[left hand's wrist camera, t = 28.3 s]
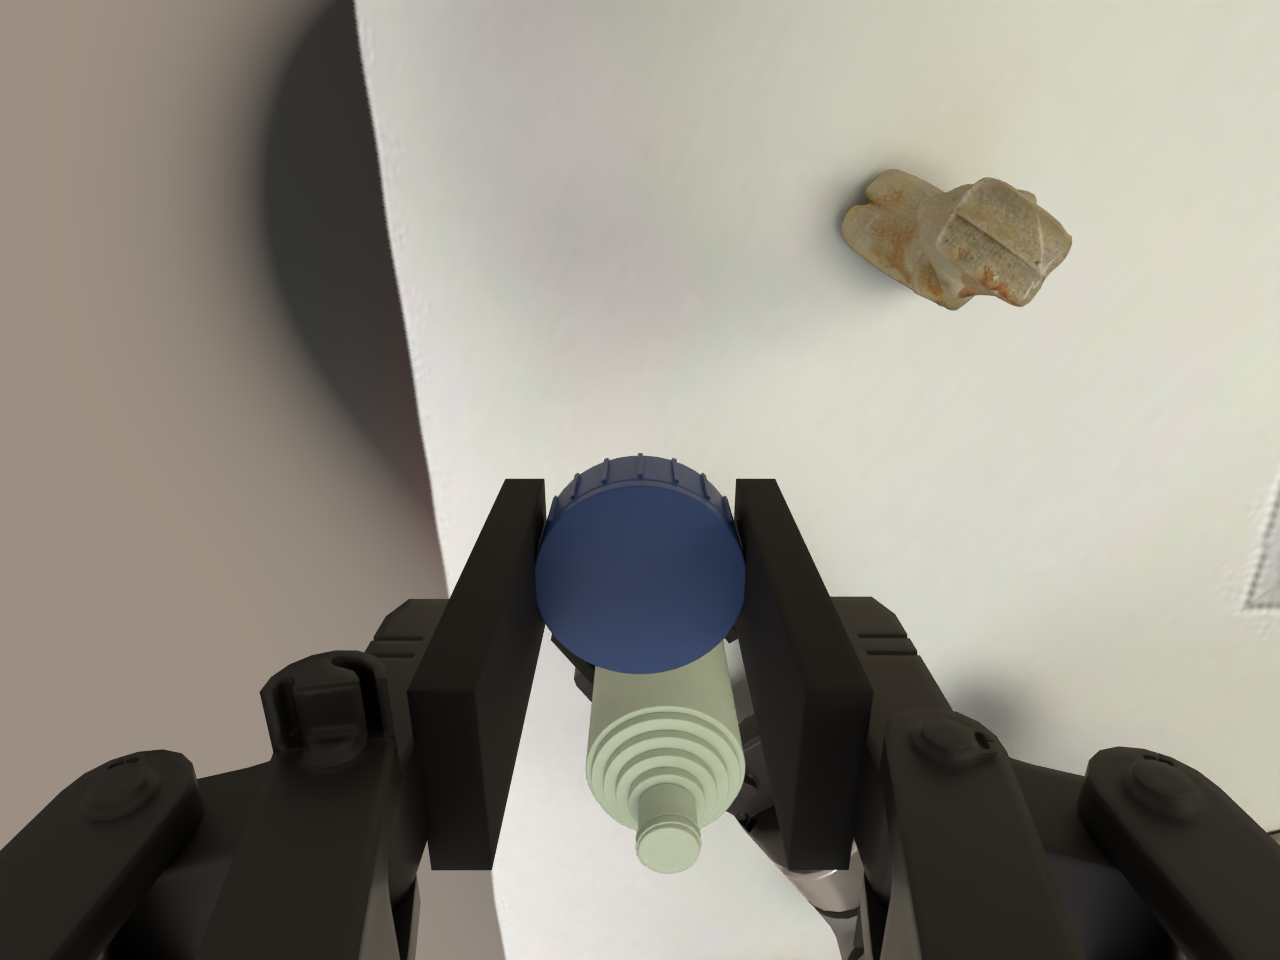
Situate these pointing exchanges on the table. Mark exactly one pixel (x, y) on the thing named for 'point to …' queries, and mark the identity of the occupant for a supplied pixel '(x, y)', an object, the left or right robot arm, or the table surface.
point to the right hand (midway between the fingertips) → (613, 589)
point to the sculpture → (957, 238)
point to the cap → (640, 566)
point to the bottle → (666, 755)
